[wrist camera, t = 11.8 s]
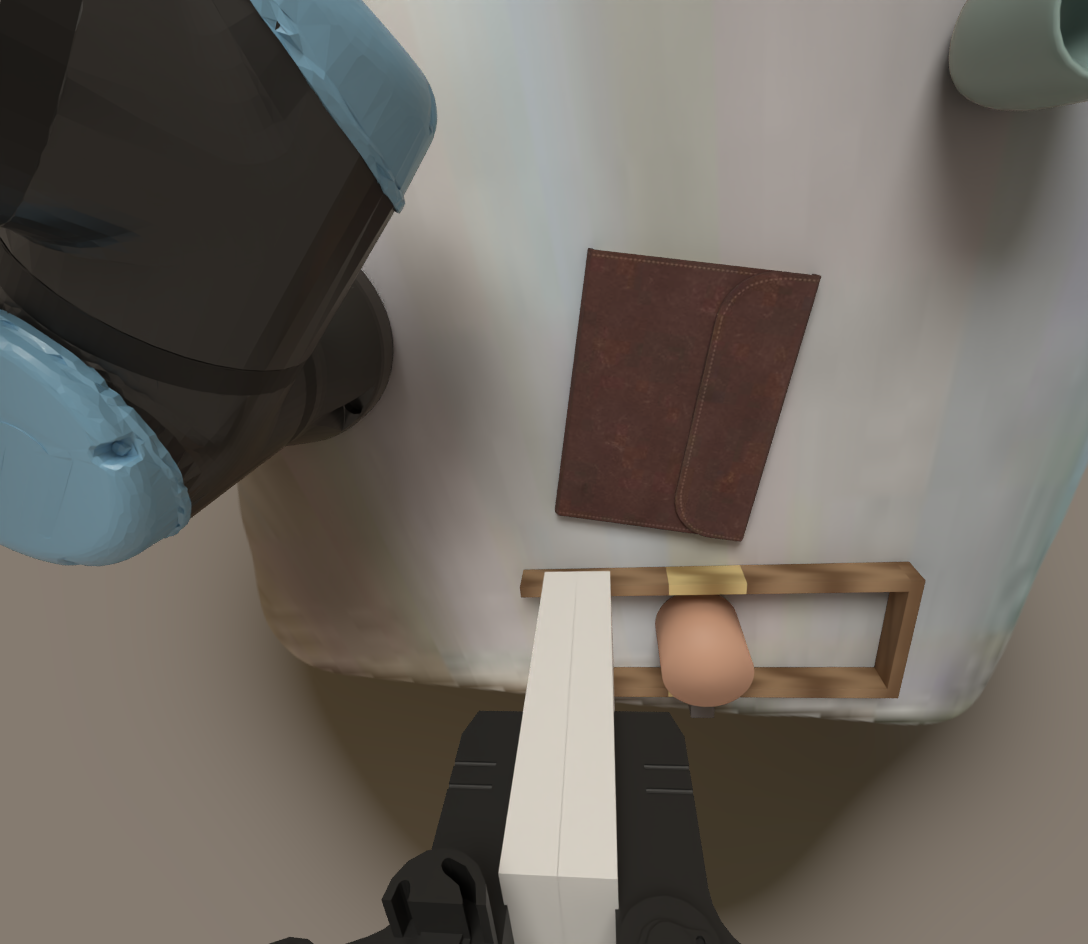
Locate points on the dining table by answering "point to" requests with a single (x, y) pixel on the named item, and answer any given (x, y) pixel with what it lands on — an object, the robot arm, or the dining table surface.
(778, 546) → the dining table surface
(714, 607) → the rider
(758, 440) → the notebook
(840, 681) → the track
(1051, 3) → the cup
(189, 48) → the robot arm
